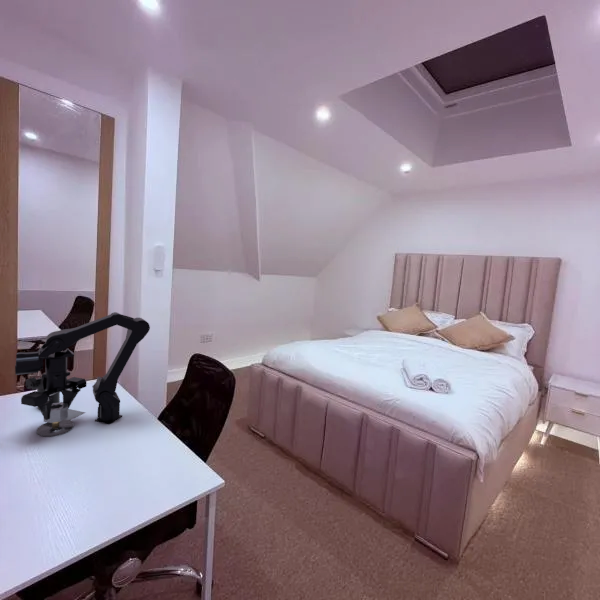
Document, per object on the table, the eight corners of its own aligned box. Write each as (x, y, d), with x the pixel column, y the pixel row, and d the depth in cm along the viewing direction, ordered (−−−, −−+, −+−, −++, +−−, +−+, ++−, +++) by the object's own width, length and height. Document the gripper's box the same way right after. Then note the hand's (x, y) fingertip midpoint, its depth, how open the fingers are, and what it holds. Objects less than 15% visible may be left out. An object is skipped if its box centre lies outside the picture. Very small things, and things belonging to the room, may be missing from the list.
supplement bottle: (40, 404, 127) (40, 374, 125) (61, 402, 130) (61, 373, 128) (34, 412, 120) (34, 380, 119) (57, 410, 123) (57, 379, 122)
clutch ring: (72, 415, 112) (72, 404, 112) (54, 423, 106) (55, 412, 105) (57, 412, 113) (57, 401, 113) (38, 420, 107) (38, 408, 107)
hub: (81, 425, 114) (81, 414, 113) (54, 440, 104) (54, 427, 104) (57, 420, 116) (57, 409, 115) (28, 434, 106) (28, 422, 106)
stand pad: (85, 413, 123) (85, 412, 123) (66, 422, 115) (66, 421, 115) (68, 409, 124) (68, 408, 124) (48, 418, 117) (48, 418, 117)
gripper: (62, 359, 119) (62, 400, 120) (6, 375, 100) (7, 423, 102) (88, 363, 116) (87, 405, 118) (35, 380, 98) (36, 429, 100)
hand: (56, 415), depth 109 cm, fingers closed on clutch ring, 6 cm apart
